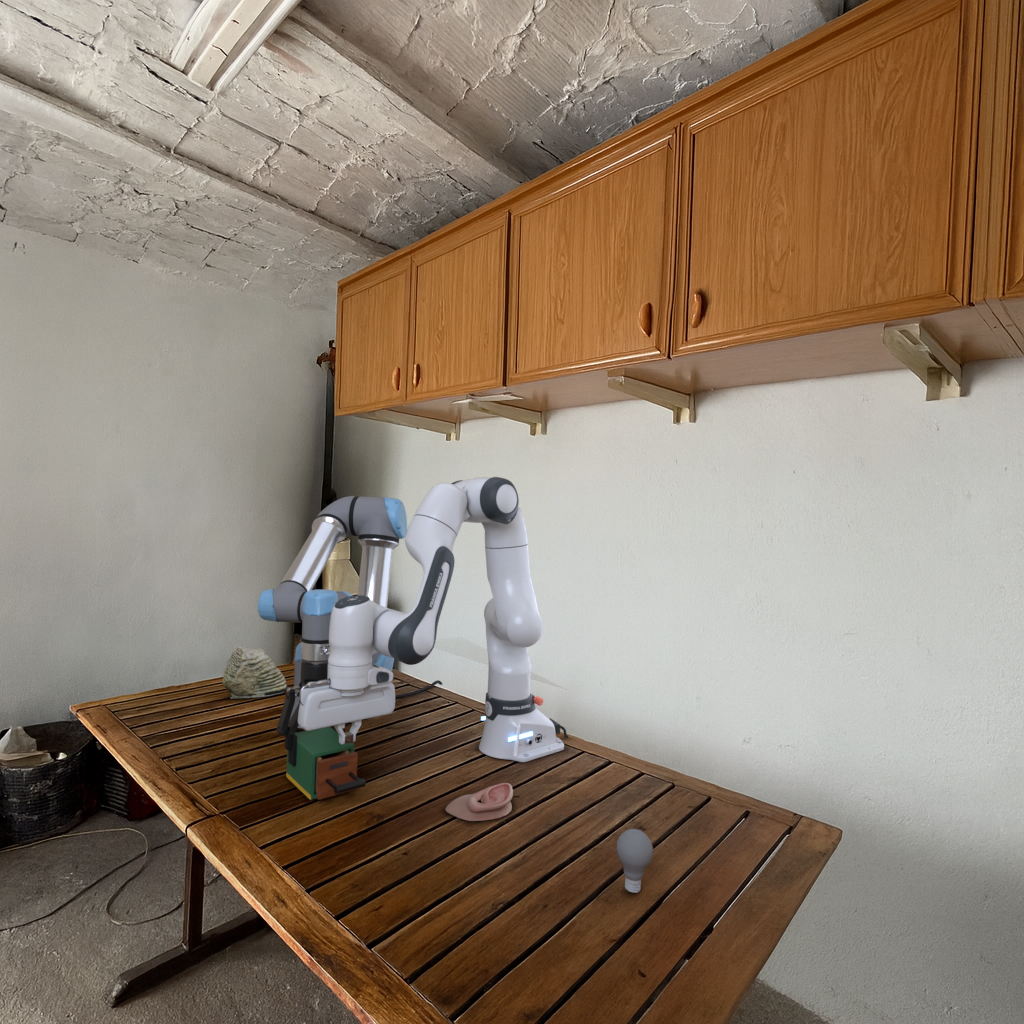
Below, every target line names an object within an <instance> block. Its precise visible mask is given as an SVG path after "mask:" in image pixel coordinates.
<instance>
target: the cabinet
mask: <svg viewBox="0 0 1024 1024" xmlns="http://www.w3.org/2000/svg"><path fill="white" fill-rule="evenodd" d="M294 734H295V735H297V757H296V766H292V765H291V764H290V763H289V762H288V753H289V751H287V750H286V772H285V776H286V778H287V780H289V781H290V782H291V783H292V784H293V785H294V786H295V787H296V788H297V789H298V790H299V791H300V792H302V794H303V795H305V796H306V798H307V799H309V801H312V800H315V799H317V798H316V797H317V792H316V791H314V787H315V761H316V757H319V756H323V755H328V754H332V753H336V752H340V751H344V750H348V751H349V753H352V752H355V745H356V744H354V742H351V743H346V744H340V743H339V734H338V732H336V731H335V730H333V729H332V728H330V727H325V728H320V729H315V730H310V731H302V732H301V731H296V732H295V733H294Z"/></svg>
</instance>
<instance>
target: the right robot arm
mask: <svg viewBox="0 0 1024 1024" xmlns="http://www.w3.org/2000/svg"><path fill="white" fill-rule="evenodd" d="M519 500H520V499H519V494H518V491H517V488H516V487H515V484H513V482H512V481H511V480H509V479H507V478H504V477H499V476H492V477H488V476H487V477H486V476H485V477H484V476H483V477H481V476H480V477H473V478H469V479H465V480H462V479H461V480H460V479H459V480H455V481H453V482H451V483H450V482H438V483H436V484H434V485H433V486H432V487H431V488H430V490H429V491H428V492H427V493H426V495H424V497H423V499H422V501H421V502H420V504H419V505H418V506H417V509H416V511H415V512H414V514H413V517H412V518H411V520H410V522H409V524H408V525H407V532H406V536H405V538H404V543H405V547H406V550H407V551H408V554H409V555H410V557H412V558H413V559H414V560H415V561H416V562H417V563H418V564H419V565H420V566H421V567H422V571H423V576H422V580H421V582H420V586H419V589H418V592H417V594H416V595H417V596H416V599H415V601H414V604H413V607H412V609H411V610H410V611H408V612H403V611H399V610H396V609H393V608H388V607H387V608H386V607H383V606H380V605H378V604H376V603H375V602H373V601H372V600H371V599H370V598H369V597H367V596H362V595H357V594H356V595H352V596H348V597H345V598H342V599H340V600H339V601H337V602H336V603H335V605H334V607H333V609H332V613H331V618H330V626H329V644H330V655H329V658H328V673H327V674H328V675H327V679H325V680H320V681H316V682H314V681H313V682H308V683H307V685H305V686H303V687H302V689H301V690H300V707H299V713H298V724H299V725H300V726H301V727H302V728H303V729H304V730H306V731H310V730H315V729H320V728H325V727H329V726H334V727H335V729H336V731H337V732H338V734H339V743H340V744H346V743H351V742H352V743H355V742H356V740H357V739H356V736H357V733H358V732H359V729H360V728H361V726H362V721H363V720H367V719H372V718H377V717H381V716H385V715H390V714H392V713H393V712H394V710H395V708H396V698H395V695H396V688H395V685H394V683H393V682H392V681H393V680H394V673H393V671H392V672H391V671H389V670H388V669H386V668H383V667H381V666H378V665H373V664H372V655H373V654H374V653H380V654H382V655H385V656H389V657H392V658H394V660H396V661H398V662H401V663H402V664H404V665H408V666H415V665H417V664H420V663H421V662H422V661H425V659H427V657H428V656H429V655H431V653H432V651H433V650H434V648H435V646H436V645H435V644H436V640H437V633H438V626H439V622H440V618H441V615H442V611H443V609H444V608H443V607H444V604H445V601H446V597H447V594H448V591H449V587H450V586H451V585H450V584H451V580H452V579H453V578H452V577H453V573H454V570H455V569H454V568H455V555H454V553H453V549H454V546H455V542H456V539H457V537H458V535H459V532H460V530H461V527H462V525H463V523H470V524H471V523H473V524H480V523H481V525H482V527H483V530H484V552H485V565H486V577H487V581H488V584H489V587H490V590H491V595H492V598H490V599H489V600H488V601H487V603H486V605H485V606H484V609H483V617H484V623H485V637H486V648H487V649H486V651H487V659H488V671H487V692H486V693H485V702H484V704H485V705H484V716H480V720H481V721H484V725H483V726H484V727H483V731H482V734H481V738H480V741H479V744H478V749H479V751H480V752H481V753H482V754H484V755H486V756H489V757H491V758H493V759H494V758H495V759H500V760H509V761H510V760H511V761H515V762H519V763H527V762H530V761H533V760H536V759H539V758H543V757H546V756H549V755H552V754H556V753H559V752H562V751H564V750H565V743H564V742H563V740H562V739H561V738H560V737H558V736H557V735H560V734H561V730H562V732H563V736H564V738H565V739H568V738H569V735H568V734H567V730H566V727H564V726H562V725H561V724H560V723H558V722H557V721H555V719H552V718H551V717H550V718H549V717H547V715H545V714H544V713H542V711H541V710H539V709H538V708H537V707H536V705H537V706H539V707H540V706H542V705H543V704H544V699H543V698H542V697H541V696H538V695H536V696H535V695H534V694H533V693H531V683H532V682H531V679H532V662H531V659H530V655H529V648H530V647H532V646H533V645H535V644H537V643H538V642H539V641H540V639H541V637H542V635H543V633H544V622H543V619H542V616H541V614H540V612H539V606H538V601H537V597H536V593H535V589H534V585H533V580H532V576H531V567H530V566H531V565H530V553H529V543H528V542H529V541H528V534H527V533H528V532H527V527H526V522H525V518H524V513H523V511H522V509H521V508H520V507H519V503H520V501H519ZM306 687H308V688H306ZM345 723H348V724H349V723H351V727H350V728H349V730H348V731H345V733H344V732H343V730H342V728H345V729H346V726H345Z"/></svg>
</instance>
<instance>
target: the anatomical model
mask: <svg viewBox="0 0 1024 1024" xmlns="http://www.w3.org/2000/svg"><path fill="white" fill-rule="evenodd" d="M513 796H514V789H513V786H512V784H511V783H509V782H502V783H498V784H495V785H492V786H488V787H486V788H484V789H481V790H479V791H477V792H474V793H472V794H465V795H461V796H459V797H456V798H455V799H454V800H452V801H451V802H449V803H448V804H447V805H446V807H445V810H444V811H445V812H446V813H448V814H449V815H451V816H453V817H455V818H457V819H461V820H463V821H467V822H482V821H490V820H496V819H500V818H503V817H505V816H507V815H509V814H510V813H511V812H512V808H513V806H512V802H511V801H512V799H513Z"/></svg>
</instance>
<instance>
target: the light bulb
mask: <svg viewBox="0 0 1024 1024" xmlns="http://www.w3.org/2000/svg"><path fill="white" fill-rule="evenodd" d="M615 849H616V854H617V857H618V859H619V861H620V863H621V865H622V867H623V873H624V874H623V875H624V876H625V878H624V888H625V890H627V891H628V892H630V893H634V894H635V893H639V892H640V891H641V889H642V887H641V886H642V879H643V877H644V875H645V871H646V868H647V867H648V866H649V864H650V863H651V861H652V859H653V855H654V847H653V843H652V841H651V838H649V836H648V835H647V834H646V833H645V832H643V831H642V830H641V829H636V828H629V829H627V830H625V831H623V832H622V833H621V834H620V835H619V837H618V839H617V841H616V847H615Z"/></svg>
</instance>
